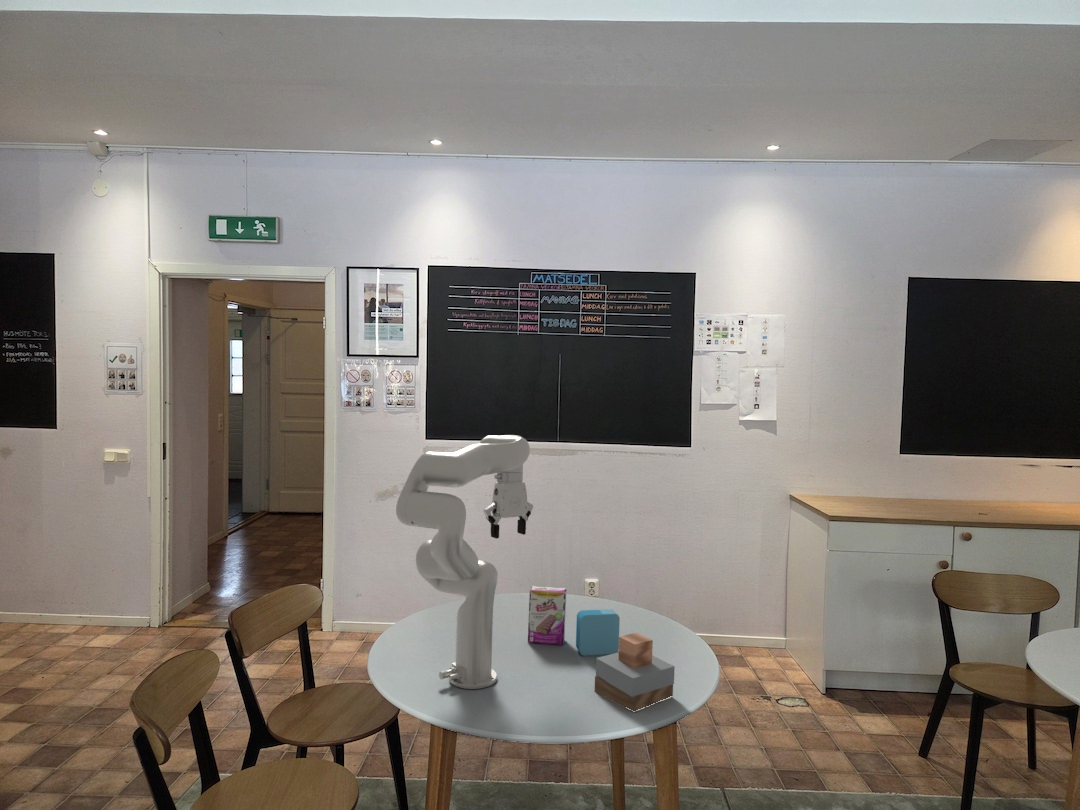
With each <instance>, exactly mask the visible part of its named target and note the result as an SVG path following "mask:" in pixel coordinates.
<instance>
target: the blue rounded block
mask: <svg viewBox="0 0 1080 810" xmlns="http://www.w3.org/2000/svg"><path fill="white" fill-rule="evenodd" d="M620 619H621V618H620V616H619V614H617V612H616V611H615V610H614V609H610V608H609V609H605V608H604V609H588V610H587V609H586V610H585V609H582V610H580V611H578V612H577V614H576V629H575V630H576V631H575V632H576V633H575V634H576V636H575V647H576V649H577V651H578V652H579V654H580V655H581V656H584V657H585V656H587V655H589V656H606V654H607V655H610V654H614V653H618V652H619V637H620ZM587 657H588V656H587Z"/></svg>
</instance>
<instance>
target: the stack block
mask: <svg viewBox="0 0 1080 810" xmlns="http://www.w3.org/2000/svg"><path fill="white" fill-rule="evenodd" d="M653 641H654V640H653V639H652V638H649V637H647V636H645V635H643V634H641V633H639V632H634V633H629V634H625V635H619V650H618V652H619V659H618V660H620V661H621V662H623V663H625V664H627V665H629V666H631V667H633V668H637V667H641V666H645V665H648V664H652V655H653V648H654V647H653V643H654V642H653Z"/></svg>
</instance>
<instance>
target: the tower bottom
mask: <svg viewBox="0 0 1080 810" xmlns="http://www.w3.org/2000/svg"><path fill="white" fill-rule="evenodd" d="M594 692H595V693H597V694H598V695H600V696H602V697H604V696H605V697H604V698H606V697H607V698H606V699H608V700H609V699H610V700H609V701H611V700H613V701H614V702H613V701H612V702H613V703H615V702H616V703H615V704H617V703H618V704H617V705H619V704H620V705H622V706H624V707H627V708H629V709H631V710H633V711H636V710H638V709H641V708H643V707H646V706H649V705H651V704H653V703H656V702H658V701H660V700H663V699H666V698H668V697H670V696H673V697H674V684H672V685H669V686H666V687H663V688H660V689H656V690H653V691H650V692H647V693H643V694H640V695H637V696H634V697H631V696H630V695H628V694H626V693H625V692H623V691H621V690H620V689H618V688H616V687H615V686H613V685H611V684H609V683H608V682H606V681H604V680H603V679H601V678H599V677H598V676H596V675H595V676H594ZM620 705H619V706H620ZM622 706H621V707H622ZM624 707H623V708H624Z"/></svg>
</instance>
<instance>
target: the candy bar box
mask: <svg viewBox="0 0 1080 810" xmlns="http://www.w3.org/2000/svg"><path fill="white" fill-rule="evenodd" d="M566 606H567V588H565V587H554V586H553V587H550V586H540V585H539V586H538V585H531V587H530V590H529V601H528V608H529V609H528V623H527V625H528V631H527V643H530V644H540V645H541V644H543V645H557V646H564V642H565V637H566V611H567V609H566V608H567V607H566Z"/></svg>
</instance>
